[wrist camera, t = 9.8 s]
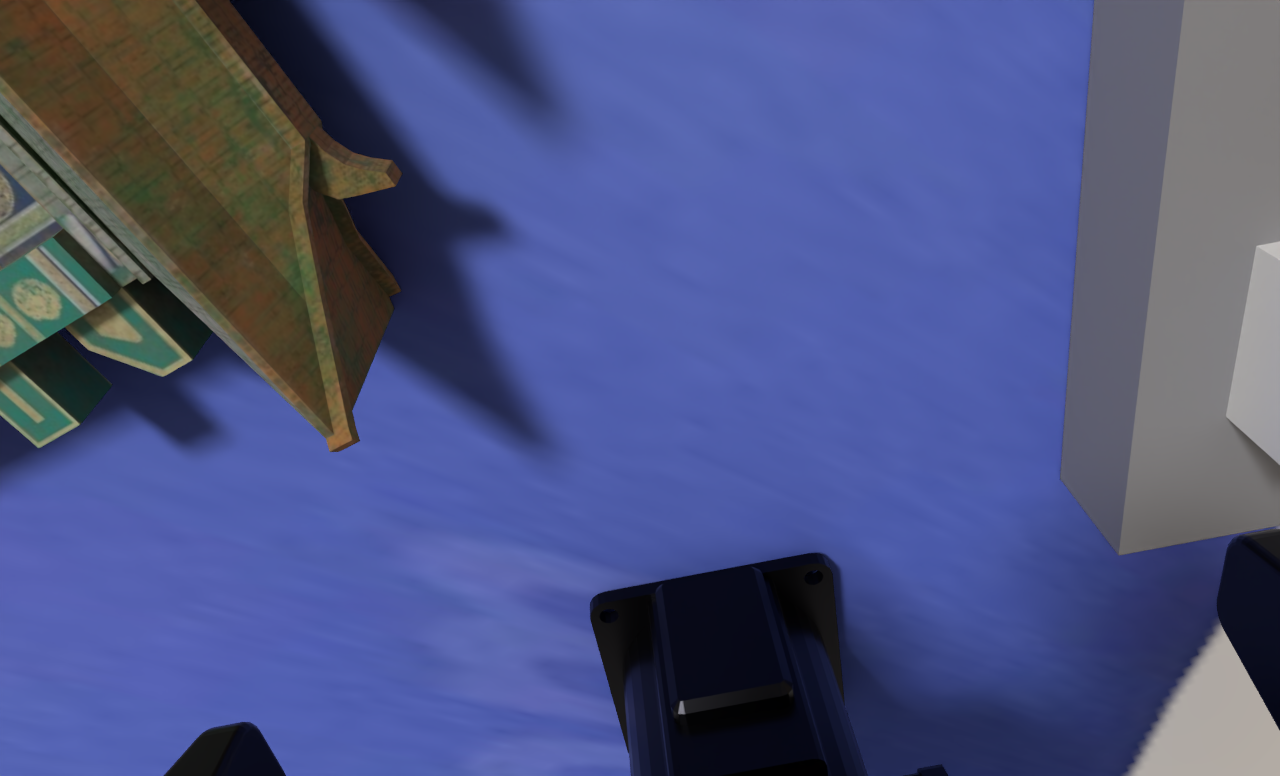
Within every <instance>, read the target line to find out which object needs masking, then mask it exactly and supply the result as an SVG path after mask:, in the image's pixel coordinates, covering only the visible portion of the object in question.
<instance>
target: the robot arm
mask: <svg viewBox="0 0 1280 776" xmlns="http://www.w3.org/2000/svg"><path fill="white" fill-rule="evenodd" d="M813 570H818V571H817V572H816V573H814V574H811V575H806V574H807V573H808V572H810V571H813ZM606 609H613V610H615V611H612V612H603V611H604V610H606ZM1217 611H1218V616H1219V619H1220V622H1221V625H1222V627H1223V629H1224V631H1225V633H1226V635H1227V636H1228V638H1229V640H1230V642H1231V643H1232V645H1233V647H1234V649H1235V651H1236V652H1237V654H1238V656H1239V658H1240V659H1241V662H1242V663H1243V665H1244V667H1245V669H1246V670H1247V672H1248V674H1249V676H1250V678H1251V679H1252V681H1253V683H1254V685H1255V687H1256V688H1257V690H1258V692H1259V694H1260V696H1261V697H1262V699H1263V701H1264V703H1265V705H1266V707H1267V708H1268V710H1269V712H1270V714H1271V716H1272V717H1273V719H1274V721H1275V722H1276V725H1277V726H1278V728H1279V730H1280V529H1270V530H1264V531H1259V532H1254V533H1248V534H1243V535H1239V536H1236V537H1234V538H1233V539H1232V540H1231V542H1230V543H1229V544H1228V547H1227V551H1226V556H1225V561H1224V566H1223V571H1222V576H1221V581H1220V586H1219V591H1218V596H1217ZM590 619H591V623H592V627H593V630H594V634H595V637H596V641H597V644H598V648H599V651H600V655H601V658H602V662H603V665H604V669H605V672H606V676H607V680H608V683H609V687H610V690H611V694H612V697H613V701H614V704H615V708H616V711H617V715H618V718H619V722H620V725H621V729H622V733H623V736H624V740H625V743H626V747H627V750H628V753H629V758H630V770H631V776H868V775H867V772H866V769H865V766H864V763H863V760H862V757H861V754H860V751H859V748H858V745H857V742H856V738H855V735H854V732H853V729H852V726H851V723H850V720H849V717H848V714H847V711H846V708H845V704H844V693H843V682H842V671H841V660H840V650H839V639H838V628H837V617H836V607H835V596H834V585H833V574H832V572H831V569H830V566H829V563H828V561H827V559H826V558H825V557H824V556H823V555H820V554H817V553H809V554H803V555H798V556H793V557H787V558H782V559H777V560H771V561H766V562H761V563H755V564H750V565H745V566H740V567H734V568H729V569H724V570H718V571H713V572H708V573H702V574H697V575H692V576H686V577H681V578H676V579H671V580H665V581H660V582H655V583H649V584H644V585H639V586H633V587H628V588H623V589H617V590H612V591H607V592H603V593H600V594H598V595H596V596H595V597H594V598H593V599H592V601H591V602H590ZM917 772H918V773H915V774H909V775H904V776H948V774H947V772H946V771H945V769H944V767H943V766H942V764H941V765H935V766H930V767H924V768H919V769H918V771H917ZM164 776H286V775H285V773H284V771H283V769H282V767H281V766H280V764H279V762H278V761H277V759H276V757H275V756H274V754H273V752H272V750H271V749H270V747H269V745H268V744H267V742H266V740H265V739H264V737H263V735H262V734H261V732H260V730H259V729H258V728H257V726H255V725H254V724H252V723H250V722H240V723H235V724H230V725H224V726H219V727H214V728H211V729H208V730H206V731H205V732H203V733H202V734H201V735H200V736H199V737H198V738H197V739H196V740H195V741H194V742H193V743H192V744H191V746H190V747H189V748H188V749H187V750H186V751H185V752H184V753H183V755H182V756H181V757H180V758H179V759H178V760H177V761H176V762H175V764H174V765H173V766H172V767H171V768H170V769H169V770H168V771H167V773H166V774H165V775H164Z"/></svg>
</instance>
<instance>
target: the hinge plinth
mask: <svg viewBox="0 0 1280 776" xmlns="http://www.w3.org/2000/svg"><path fill="white" fill-rule="evenodd" d="M1060 479H1061V481H1062V482H1063V483H1064V485H1065V486H1066V487H1067V489H1068V490H1069V491H1070V492H1071V494H1072V495H1073V496H1074V498H1075V499H1076V500H1077V502H1078V503H1079V504H1080V506H1081V507H1082V508H1083V510H1084V511H1085V512H1086V513H1087V515H1088V516H1089V517H1090V519H1091V520H1092V521H1093V523H1094V524H1095V525H1096V527H1097V528H1098V529H1099V531H1100V532H1101V533H1102V534H1103V536H1104V537H1105V538H1106V540H1107V541H1108V542H1109V544H1110V545H1111V546H1112V548H1113V549H1114V550H1115V552H1116V553H1117V554H1118V555H1124V554H1129V553H1135V552H1140V551H1145V550H1151V549H1156V548H1161V547H1167V546H1172V545H1178V544H1183V543H1188V542H1194V541H1199V540H1204V539H1210V538H1215V537H1220V536H1226V535H1231V534H1236V533H1242V532H1247V531H1252V530H1258V529H1263V528H1269V527H1274V526H1279V525H1280V0H1094V13H1093V26H1092V40H1091V54H1090V68H1089V82H1088V96H1087V110H1086V124H1085V138H1084V152H1083V166H1082V180H1081V194H1080V208H1079V222H1078V236H1077V250H1076V264H1075V278H1074V292H1073V306H1072V319H1071V333H1070V347H1069V361H1068V375H1067V389H1066V403H1065V417H1064V431H1063V445H1062V459H1061V473H1060Z"/></svg>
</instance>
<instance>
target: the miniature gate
mask: <svg viewBox="0 0 1280 776" xmlns="http://www.w3.org/2000/svg"><path fill="white" fill-rule="evenodd" d="M401 175H402V172H401V171H400V170H399V168H398V167H397V166H396V164H395V163H394V162H393V160H386V159H379V158H371V157H368V156H364V155H360V154H356V153H353V152H352V151H350V150H349V149H347V148H345V147H344V146H342V145H341V144H339V143H338V142H336V141H335V140H334V139H332V138H331V137H330V136H329V135H328V134H327V133H326V132H325V131H324V130H323V128H322V122H321V120H320V118H319V117H318V116H317V115H316V113H315V112H314V111H313V109H312V108H311V107H310V105H309V104H308V103H307V101H306V100H305V99H304V98H303V96H302V95H301V94H300V92H299V91H298V90H297V88H296V87H295V86H294V85H293V83H292V82H291V81H290V79H289V78H288V77H287V75H286V74H285V73H284V71H283V70H282V69H281V68H280V66H279V65H278V64H277V62H276V61H275V60H274V58H273V57H272V56H271V55H270V53H269V52H268V51H267V49H266V48H265V47H264V45H263V44H262V43H261V41H260V40H259V39H258V38H257V36H256V35H255V34H254V32H253V31H252V30H251V28H250V27H249V26H248V24H247V23H246V22H245V21H244V19H243V18H242V17H241V15H240V14H239V13H238V11H237V10H236V9H235V8H234V6H233V5H232V4H231V2H230V1H229V0H0V415H1V416H2V417H3V418H4V419H5V420H6V421H8V422H9V423H10V424H11V425H12V426H13V427H14V428H16V429H17V430H18V431H19V432H20V433H21V434H23V435H24V436H25V437H26V438H27V439H28V440H30V441H31V442H32V443H33V444H34V445H35V446H36V447H38V448H41V447H42V446H44V445H46V444H47V443H49V442H51V441H53V440H54V439H56V438H58V437H60V436H61V435H63V434H65V433H67V432H68V431H70V430H72V429H74V428H75V427H77V426H79V425H80V424H81V423H82V422H83V421H84V420H85V418H86V417H87V416H88V415H89V413H90V412H91V411H92V410H93V409H94V407H95V406H96V405H97V404H98V402H99V401H100V400H101V399H102V397H103V396H104V395H105V394H106V393H107V391H108V390H109V389H110V388H111V386H112V385H113V384H112V383H110V382H109V381H108V380H107V379H106V378H105V377H104V376H103V375H102V374H101V373H100V372H99V371H98V370H97V369H96V368H95V367H94V366H93V365H91V364H90V363H89V362H88V361H87V360H86V359H85V358H84V357H83V356H82V355H81V354H80V353H79V352H78V351H77V350H76V349H75V348H74V347H73V346H71V345H70V344H69V343H68V342H67V341H66V340H65V339H64V338H63V337H62V336H61V335H60V334H59V333H58V332H57V331H59V330H61V329H62V328H64V327H65V328H66V329H67V330H68V331H69V332H70V333H71V334H72V335H73V336H74V337H75V338H76V339H77V340H78V341H79V342H80V343H81V344H82V345H84V346H85V347H86V348H87V349H88V350H90V351H92V352H95V353H98V354H101V355H103V356H106V357H109V358H112V359H115V360H117V361H120V362H123V363H126V364H128V365H131V366H134V367H137V368H139V369H142V370H145V371H148V372H150V373H153V374H156V375H159V376H162V377H164V376H166V375H167V374H169V373H171V372H173V371H174V370H176V369H178V368H180V367H181V366H183V365H185V364H186V363H188V362H190V361H192V360H193V359H194V357H195V356H196V355H197V353H198V352H199V350H200V349H201V348H202V346H203V345H204V343H205V342H206V341H207V339H208V338H209V336H210V335H211V334H212V332H214V333H215V334H216V335H217V336H218V337H220V338H221V339H222V340H223V341H224V342H225V343H226V344H227V345H228V346H229V347H230V348H231V349H232V350H233V351H234V352H235V353H236V354H237V355H238V356H239V357H241V358H242V359H243V360H244V361H245V362H246V363H247V364H248V365H249V366H250V367H251V368H252V369H253V370H254V371H255V372H256V373H257V374H258V375H259V376H261V377H262V378H263V379H264V380H265V381H266V382H267V383H268V384H269V385H270V386H271V387H272V388H273V389H274V390H275V391H276V392H277V393H278V394H279V395H281V396H282V397H283V398H284V399H285V400H286V401H287V402H288V403H289V404H290V405H291V406H292V407H293V408H294V409H295V410H296V411H297V412H298V413H299V414H301V415H302V416H303V417H304V418H305V419H306V420H307V421H308V422H309V423H310V424H311V425H312V426H313V427H314V428H315V429H316V430H317V431H318V432H319V433H321V434H322V435H323V436H324V437H325V438H326V440H327V444H328V447H329V451H330V452H339V451H341V450H343V449H345V448H347V447H349V446H351V445H353V444H355V443H357V442H359V441H360V439H359V436H358V433H357V430H356V426H355V422H354V417H353V413H352V410H353V407H354V405H355V403H356V400H357V398H358V395H359V393H360V391H361V388H362V386H363V383H364V381H365V378H366V376H367V374H368V371H369V369H370V366H371V364H372V362H373V359H374V357H375V354H376V352H377V349H378V347H379V345H380V342H381V340H382V337H383V335H384V332H385V330H386V328H387V325H388V323H389V320H390V318H391V316H392V313H393V311H394V307H393V305H392V302H391V300H390V298H389V297H390V296H392V295H394V294H397V293H399V292H401V289H400V287H399V285H398V284H397V282H396V280H395V278H394V276H393V275H392V273H391V272H390V271H389V270H388V268H387V267H386V266H385V265H384V263H383V262H382V261H381V260H380V258H379V257H378V256H377V255H376V253H375V252H374V251H373V250H372V248H371V247H370V246H369V245H368V243H367V242H366V241H365V240H364V238H363V237H362V236H361V234H360V233H359V232H358V231H357V229H356V227H355V225H354V222H353V220H352V218H351V215H350V213H349V211H348V209H347V206H346V204H345V202H344V200H343V198H348V197H353V196H358V195H363V194H367V193H371V192H375V191H379V190H383V189H387V188H391V187H395V186H396V185H397V183H398V181H399V179H400V177H401Z"/></svg>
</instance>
